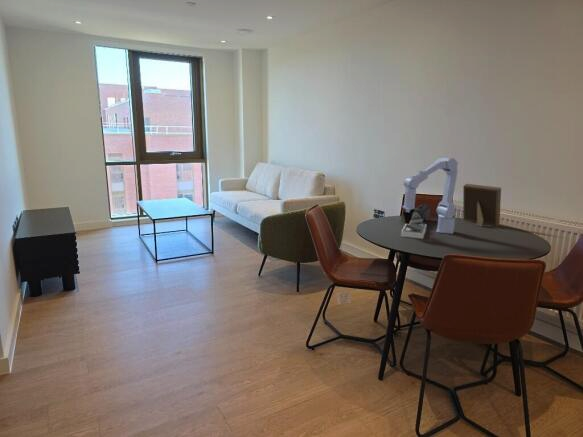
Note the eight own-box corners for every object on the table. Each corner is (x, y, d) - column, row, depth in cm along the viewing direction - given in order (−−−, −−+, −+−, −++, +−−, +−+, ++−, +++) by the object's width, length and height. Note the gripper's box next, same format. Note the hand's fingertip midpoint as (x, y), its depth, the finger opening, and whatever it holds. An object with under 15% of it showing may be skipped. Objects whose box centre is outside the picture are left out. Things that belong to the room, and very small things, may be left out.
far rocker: (423, 220, 240) (422, 218, 240) (421, 224, 232) (421, 221, 232) (409, 222, 243) (409, 220, 243) (407, 226, 235) (407, 223, 235)
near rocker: (421, 228, 230) (422, 226, 229) (419, 231, 222) (420, 229, 221) (407, 223, 232) (408, 221, 232) (405, 226, 224) (406, 224, 224)
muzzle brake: (430, 219, 269) (431, 204, 267) (421, 228, 245) (422, 211, 243) (415, 218, 273) (417, 203, 271) (405, 226, 250) (407, 210, 247)
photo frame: (466, 219, 272) (470, 183, 266) (499, 225, 256) (504, 186, 250) (456, 222, 262) (460, 184, 256) (489, 228, 246) (495, 188, 241)
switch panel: (426, 229, 242) (426, 222, 241) (422, 238, 220) (423, 231, 219) (405, 227, 246) (406, 220, 246) (400, 236, 225) (401, 229, 224)
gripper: (404, 196, 233) (402, 219, 236) (401, 200, 220) (399, 224, 223) (416, 197, 230) (414, 220, 233) (414, 201, 217) (412, 225, 220)
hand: (408, 222), depth 228 cm, fingers open, 7 cm apart
